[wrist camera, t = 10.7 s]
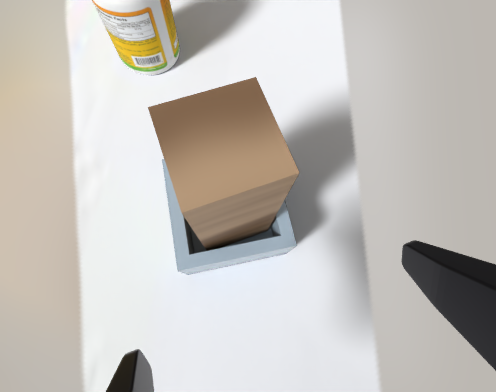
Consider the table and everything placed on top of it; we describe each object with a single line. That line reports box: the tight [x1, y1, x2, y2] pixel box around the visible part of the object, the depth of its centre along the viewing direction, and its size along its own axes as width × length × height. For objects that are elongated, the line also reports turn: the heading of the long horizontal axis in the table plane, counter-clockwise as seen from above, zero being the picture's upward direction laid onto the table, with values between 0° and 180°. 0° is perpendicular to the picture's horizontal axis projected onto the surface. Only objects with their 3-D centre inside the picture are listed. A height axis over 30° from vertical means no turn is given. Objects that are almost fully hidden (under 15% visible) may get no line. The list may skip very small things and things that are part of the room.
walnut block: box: [148, 77, 299, 251], centre depth 16 cm, size 4×4×11 cm
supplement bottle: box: [92, 0, 180, 75], centre depth 22 cm, size 5×5×10 cm
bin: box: [162, 159, 297, 275], centre depth 21 cm, size 7×7×4 cm
